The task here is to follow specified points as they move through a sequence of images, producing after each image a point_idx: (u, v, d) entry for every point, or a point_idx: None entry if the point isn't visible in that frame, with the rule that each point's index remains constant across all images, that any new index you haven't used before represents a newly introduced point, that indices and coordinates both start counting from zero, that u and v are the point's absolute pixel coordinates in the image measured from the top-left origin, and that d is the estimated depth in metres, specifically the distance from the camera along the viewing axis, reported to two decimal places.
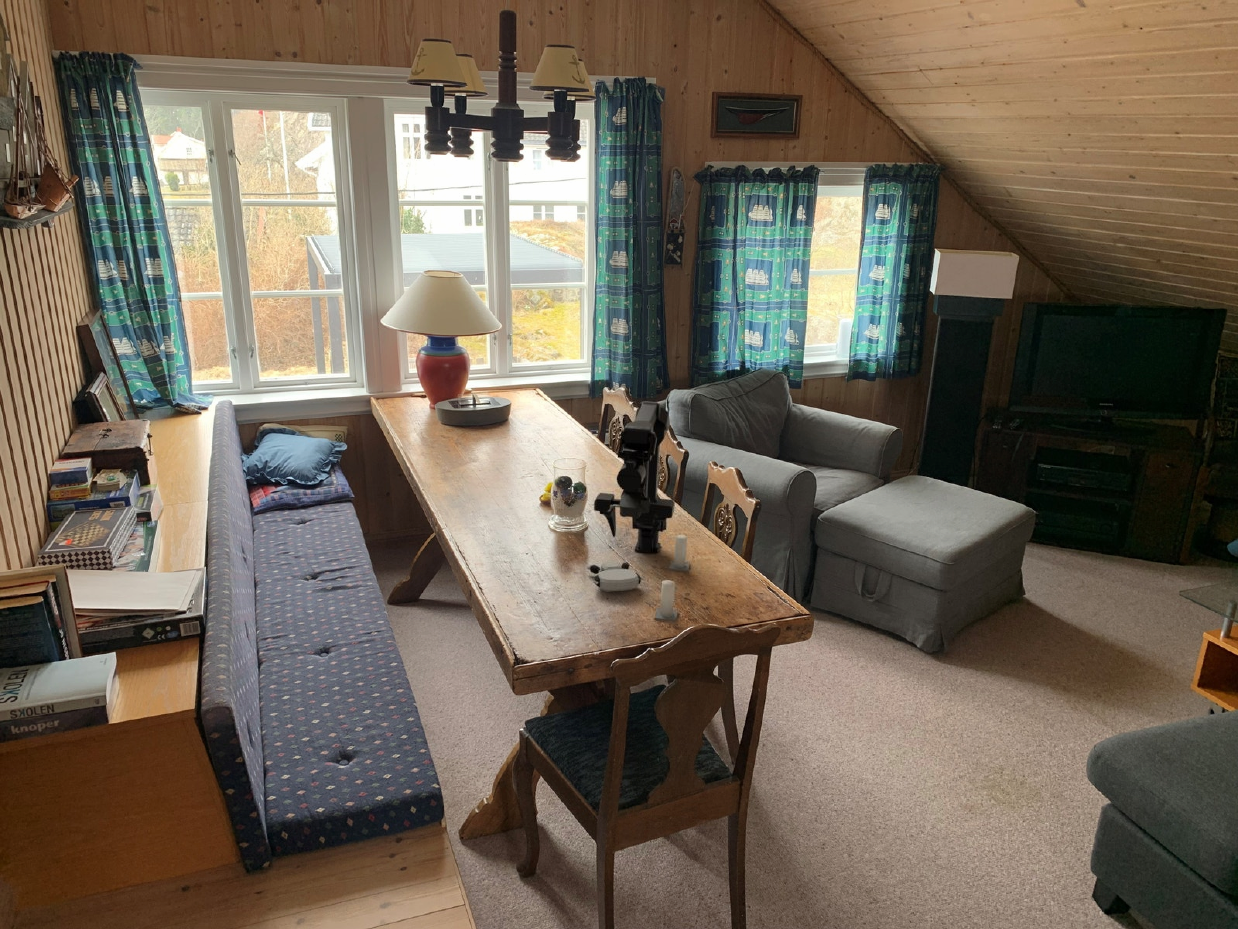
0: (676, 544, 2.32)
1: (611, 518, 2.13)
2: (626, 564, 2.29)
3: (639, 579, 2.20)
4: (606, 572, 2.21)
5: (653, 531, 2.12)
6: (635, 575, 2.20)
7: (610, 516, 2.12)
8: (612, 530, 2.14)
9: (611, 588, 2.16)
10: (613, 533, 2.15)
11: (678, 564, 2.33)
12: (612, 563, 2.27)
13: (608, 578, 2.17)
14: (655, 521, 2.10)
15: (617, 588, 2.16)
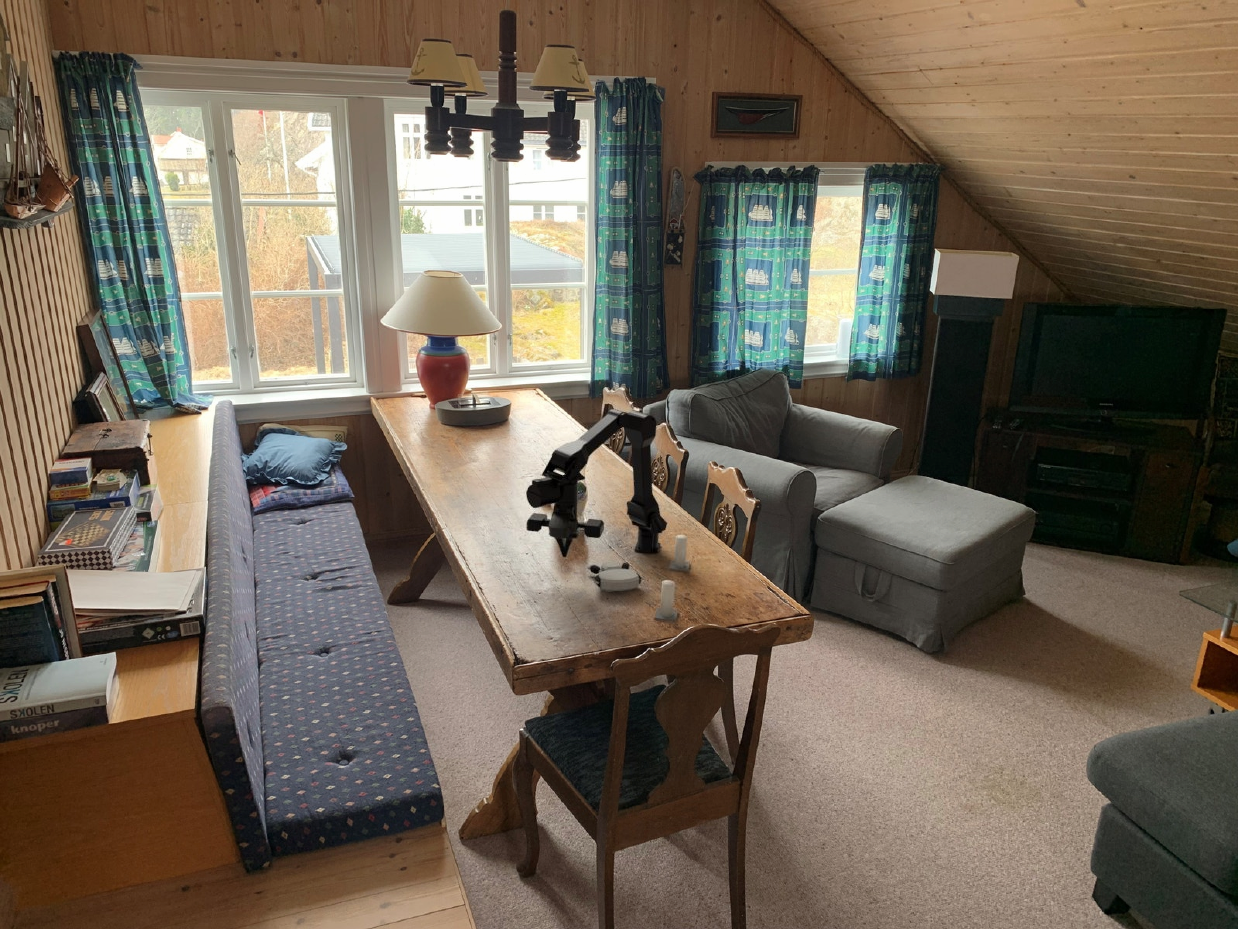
0: (676, 544, 2.32)
1: (560, 539, 2.21)
2: (626, 564, 2.29)
3: (639, 579, 2.20)
4: (606, 572, 2.21)
5: (566, 548, 2.22)
6: (635, 575, 2.20)
7: (559, 537, 2.21)
8: (562, 551, 2.23)
9: (612, 588, 2.16)
10: (563, 553, 2.23)
11: (678, 564, 2.33)
12: (612, 563, 2.27)
13: (609, 578, 2.17)
14: (567, 539, 2.21)
15: (618, 588, 2.16)
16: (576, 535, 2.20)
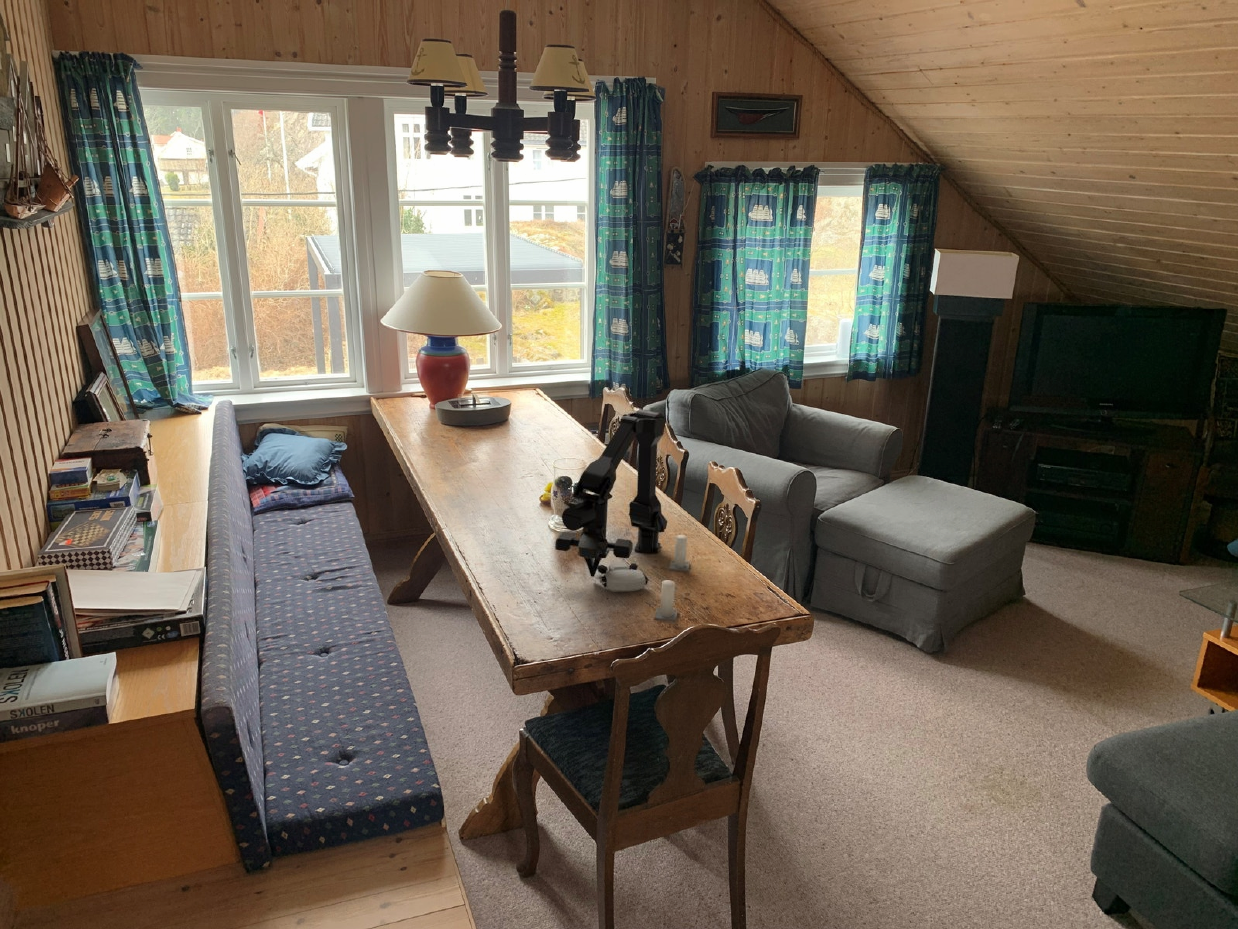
0: (676, 544, 2.32)
1: (589, 559, 2.22)
2: (634, 565, 2.28)
3: (646, 580, 2.19)
4: (613, 572, 2.21)
5: (594, 568, 2.23)
6: (642, 576, 2.19)
7: (588, 557, 2.21)
8: (590, 570, 2.23)
9: (617, 588, 2.16)
10: (591, 573, 2.23)
11: (678, 564, 2.33)
12: (620, 563, 2.26)
13: (615, 578, 2.17)
14: (596, 558, 2.21)
15: (623, 588, 2.16)
16: (605, 555, 2.20)
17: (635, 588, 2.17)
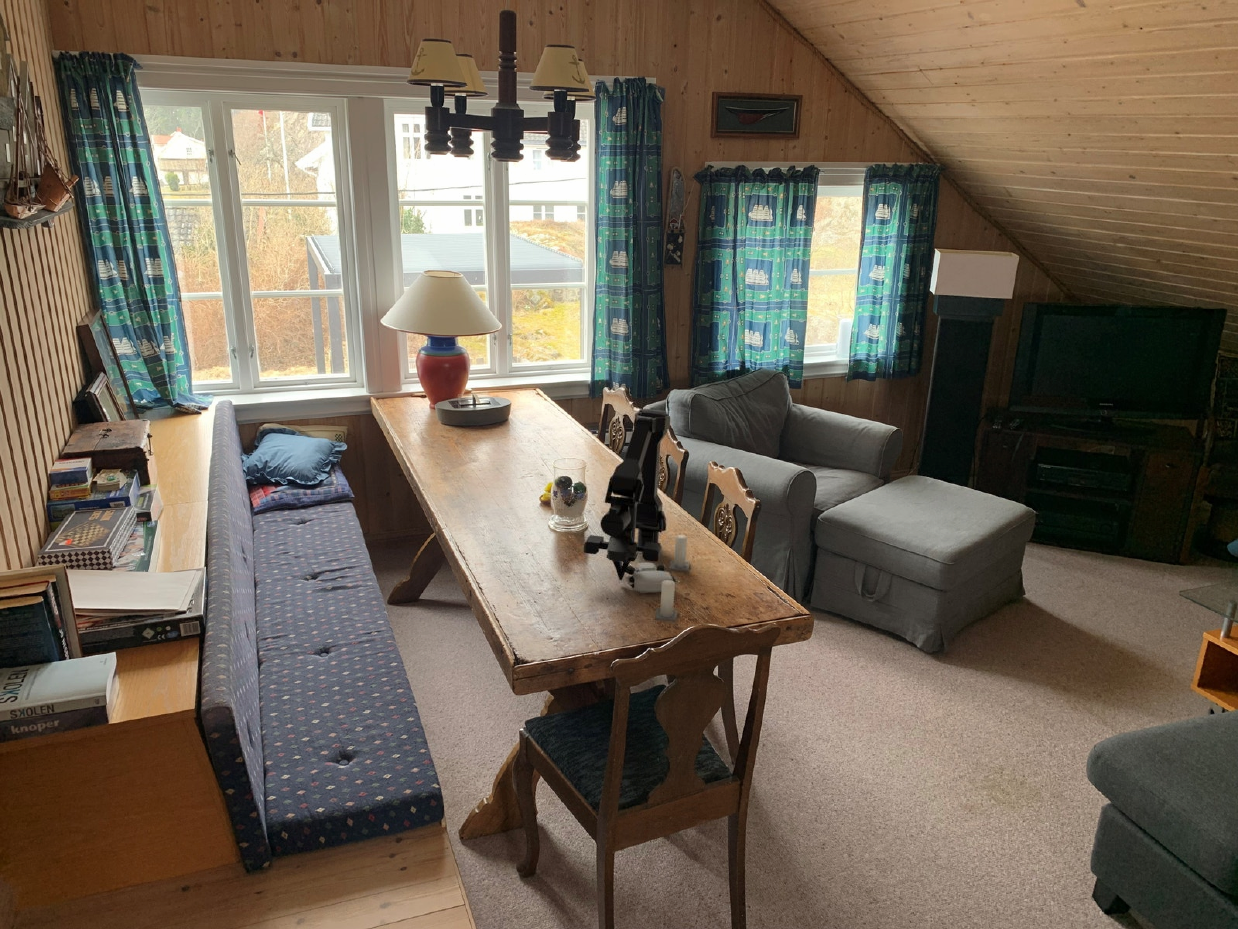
0: (676, 544, 2.32)
1: (617, 562, 2.20)
2: (662, 566, 2.28)
3: (674, 581, 2.19)
4: (640, 573, 2.21)
5: (622, 571, 2.21)
6: (670, 577, 2.19)
7: (617, 560, 2.20)
8: (618, 573, 2.22)
9: (645, 589, 2.16)
10: (619, 576, 2.22)
11: (678, 564, 2.33)
12: (647, 564, 2.27)
13: (643, 579, 2.17)
14: (624, 562, 2.20)
15: (651, 589, 2.16)
16: (633, 558, 2.19)
17: None
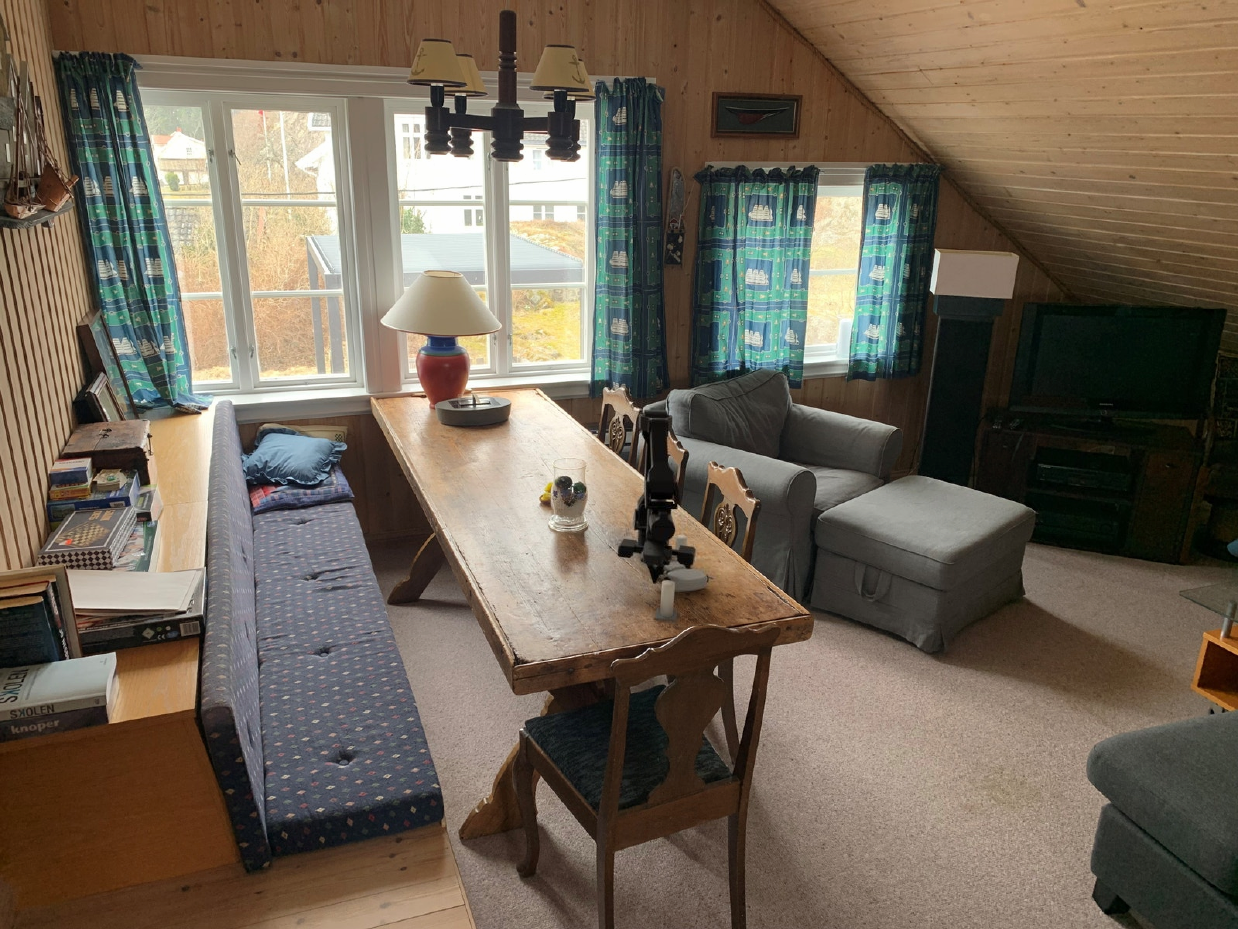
0: (676, 544, 2.32)
1: (652, 566, 2.19)
2: None
3: (707, 578, 2.22)
4: (674, 573, 2.22)
5: (657, 575, 2.20)
6: (704, 574, 2.21)
7: (651, 564, 2.18)
8: (652, 577, 2.21)
9: (683, 588, 2.18)
10: (653, 580, 2.21)
11: None
12: (676, 563, 2.28)
13: (680, 579, 2.18)
14: (659, 565, 2.18)
15: (689, 588, 2.18)
16: (668, 562, 2.17)
17: (699, 587, 2.19)
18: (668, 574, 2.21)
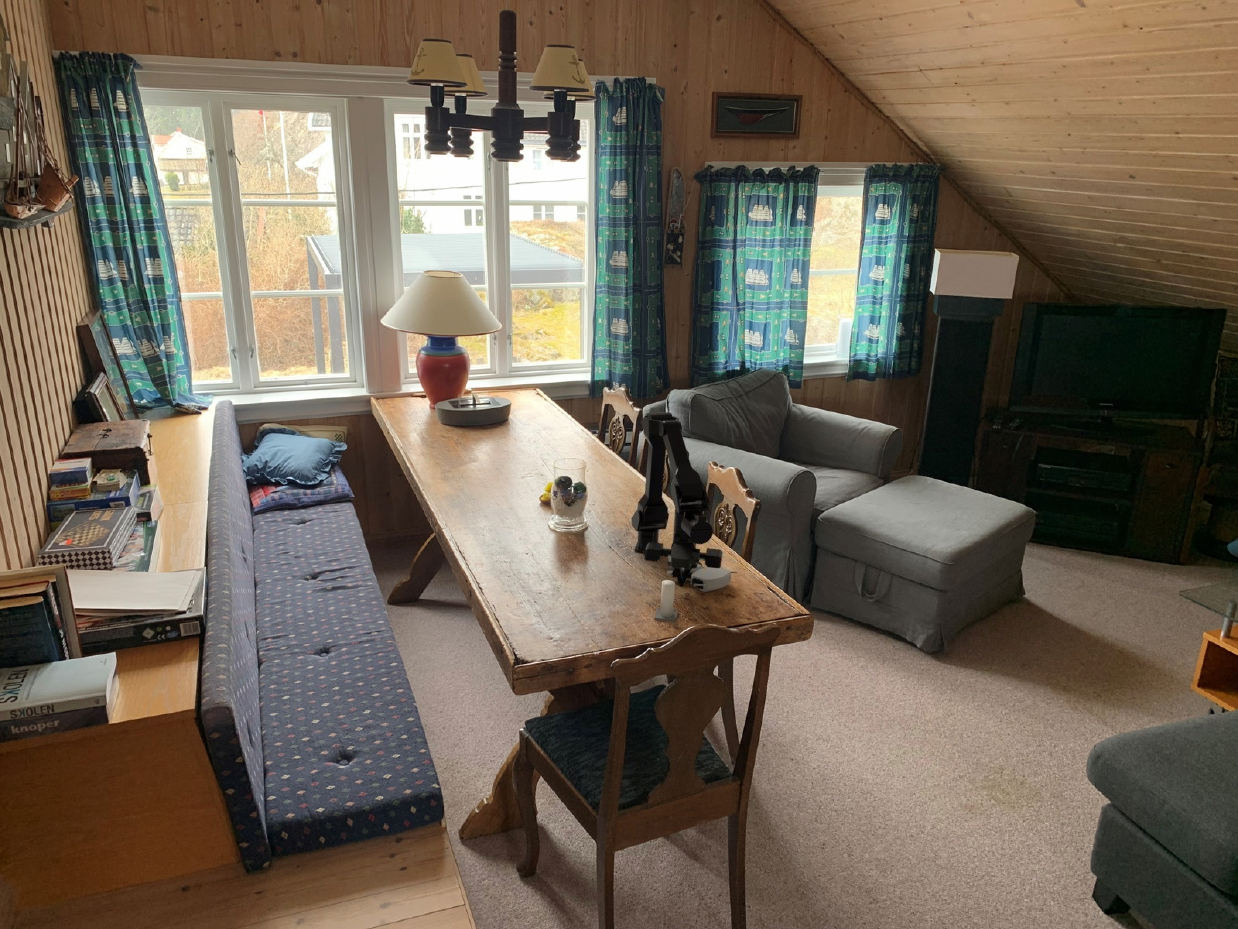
0: None
1: (678, 569, 2.18)
2: (699, 562, 2.31)
3: None
4: (699, 573, 2.23)
5: (684, 578, 2.19)
6: (726, 570, 2.25)
7: (678, 567, 2.17)
8: (679, 580, 2.20)
9: (715, 587, 2.19)
10: (680, 583, 2.20)
11: None
12: None
13: (710, 578, 2.20)
14: (686, 568, 2.17)
15: (720, 586, 2.20)
16: (695, 565, 2.17)
17: (727, 583, 2.22)
18: (695, 575, 2.21)
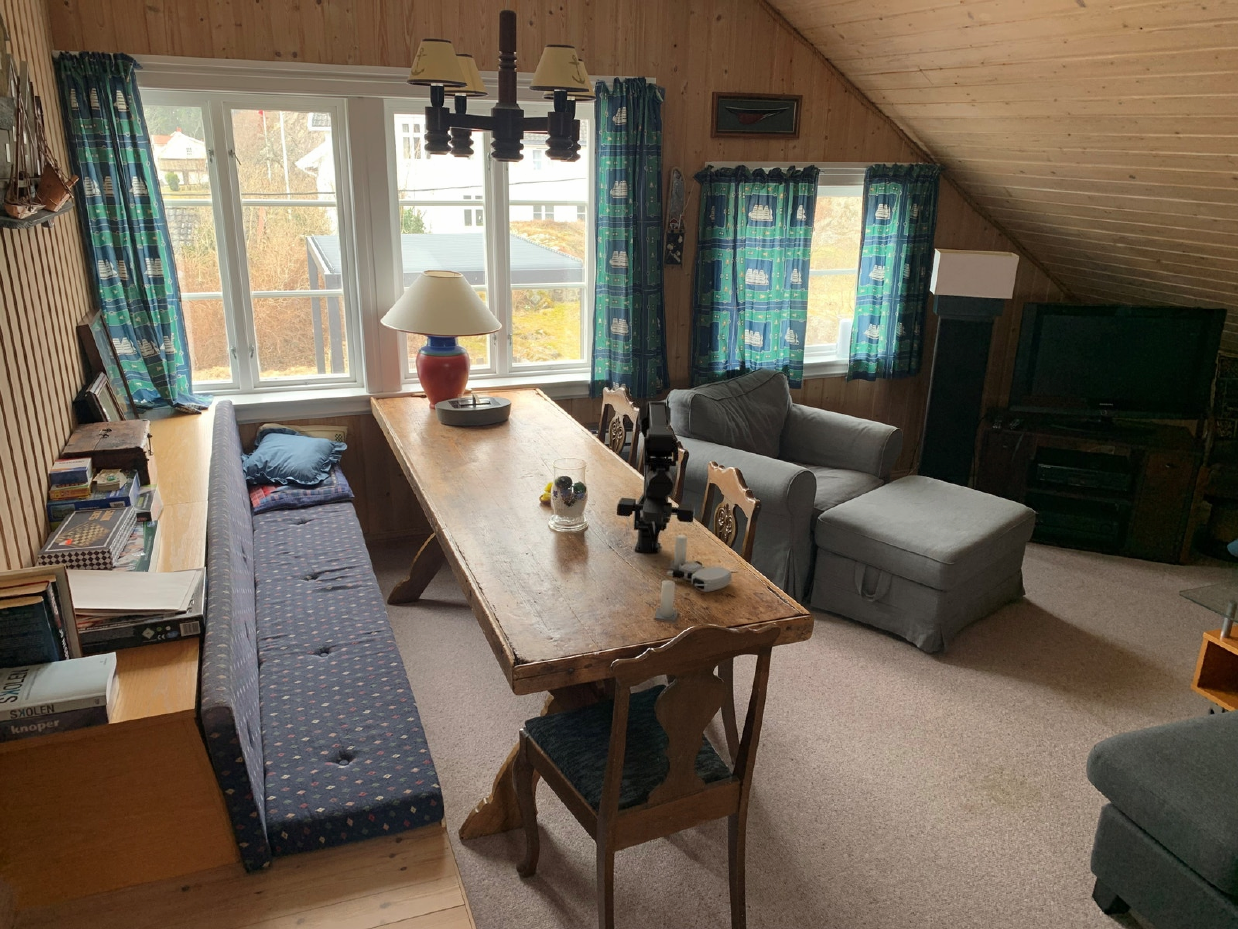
0: (676, 544, 2.32)
1: (651, 524, 2.18)
2: (699, 562, 2.31)
3: None
4: (699, 573, 2.23)
5: (656, 533, 2.19)
6: (727, 570, 2.25)
7: (650, 522, 2.17)
8: (651, 536, 2.19)
9: (716, 587, 2.19)
10: (652, 538, 2.20)
11: (678, 564, 2.33)
12: (691, 564, 2.28)
13: (711, 578, 2.20)
14: (658, 523, 2.17)
15: (721, 586, 2.20)
16: (668, 520, 2.16)
17: (728, 583, 2.22)
18: (696, 575, 2.21)
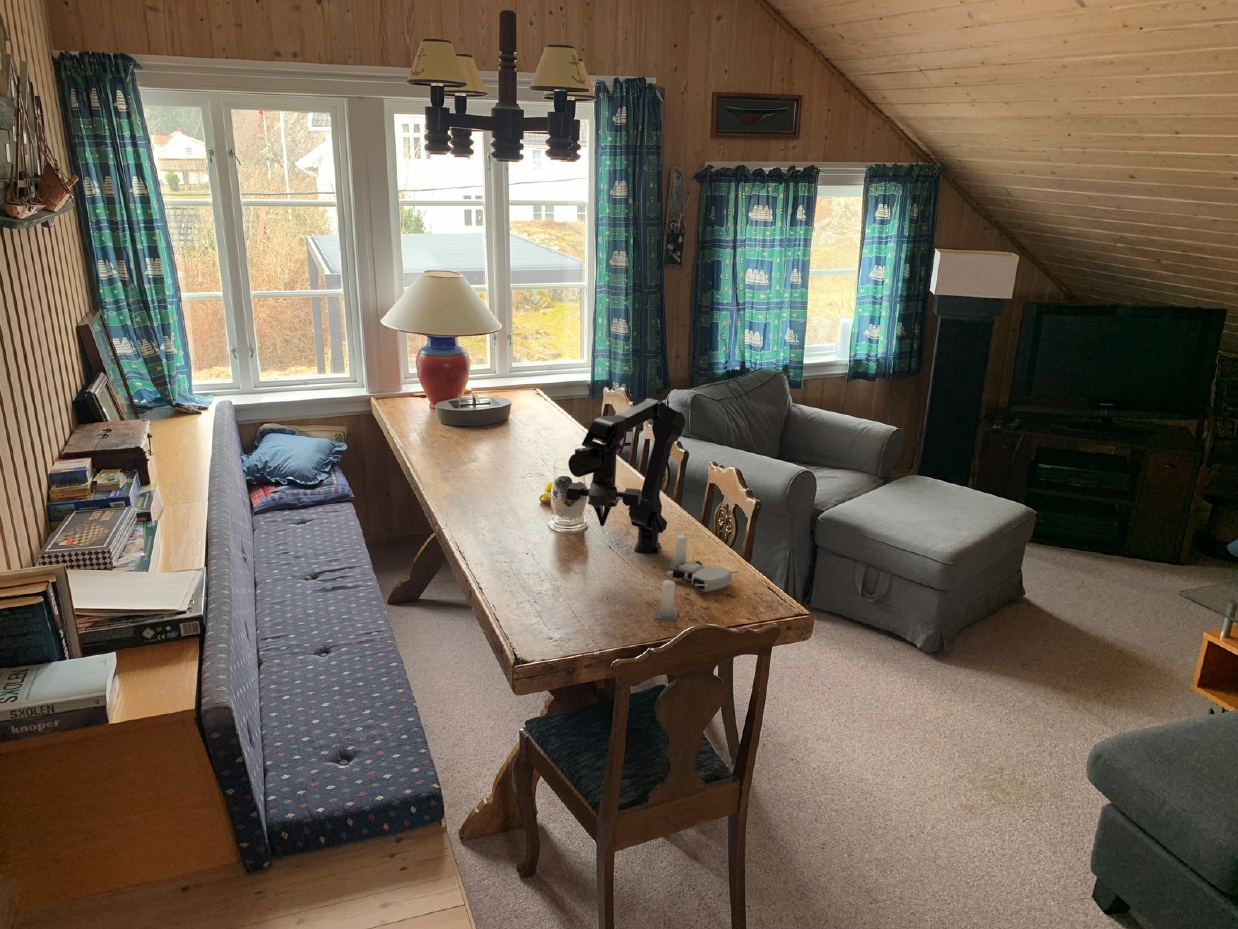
0: (676, 544, 2.32)
1: (599, 508, 2.26)
2: (699, 562, 2.31)
3: None
4: (700, 573, 2.23)
5: (604, 517, 2.27)
6: (727, 570, 2.25)
7: (598, 506, 2.25)
8: (600, 519, 2.27)
9: (717, 587, 2.19)
10: (601, 522, 2.28)
11: (678, 564, 2.33)
12: (692, 564, 2.28)
13: (711, 578, 2.20)
14: (605, 507, 2.25)
15: (721, 586, 2.20)
16: (614, 504, 2.24)
17: (728, 583, 2.22)
18: (696, 575, 2.21)
